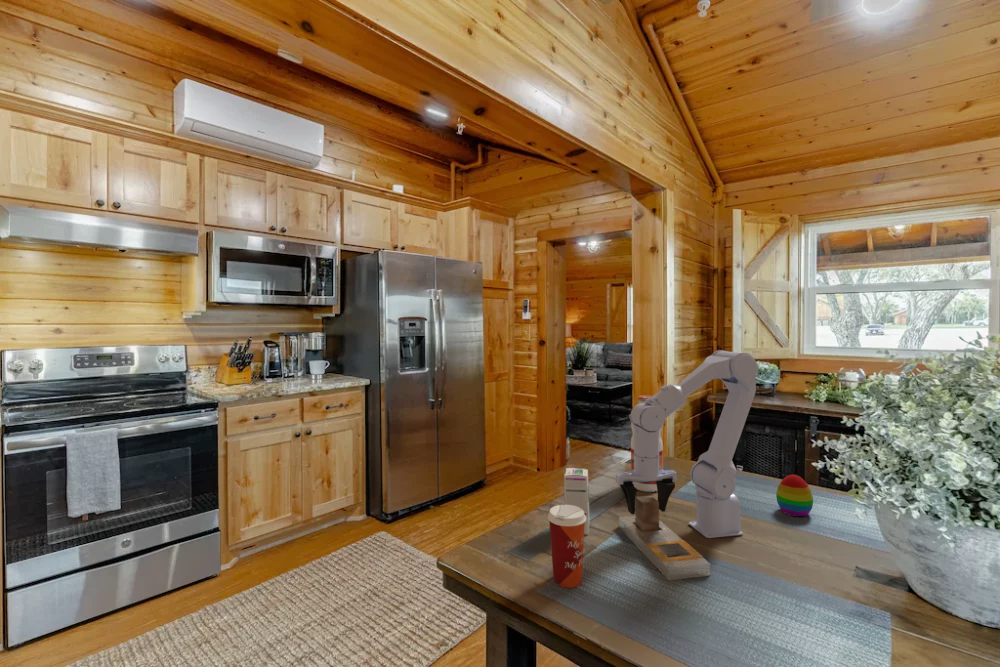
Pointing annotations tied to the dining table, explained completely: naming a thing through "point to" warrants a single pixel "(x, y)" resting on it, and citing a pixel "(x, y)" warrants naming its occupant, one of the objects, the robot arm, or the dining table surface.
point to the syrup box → (577, 491)
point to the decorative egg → (794, 496)
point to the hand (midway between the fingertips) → (646, 511)
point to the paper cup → (567, 544)
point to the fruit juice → (651, 485)
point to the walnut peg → (646, 513)
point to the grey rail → (666, 551)
